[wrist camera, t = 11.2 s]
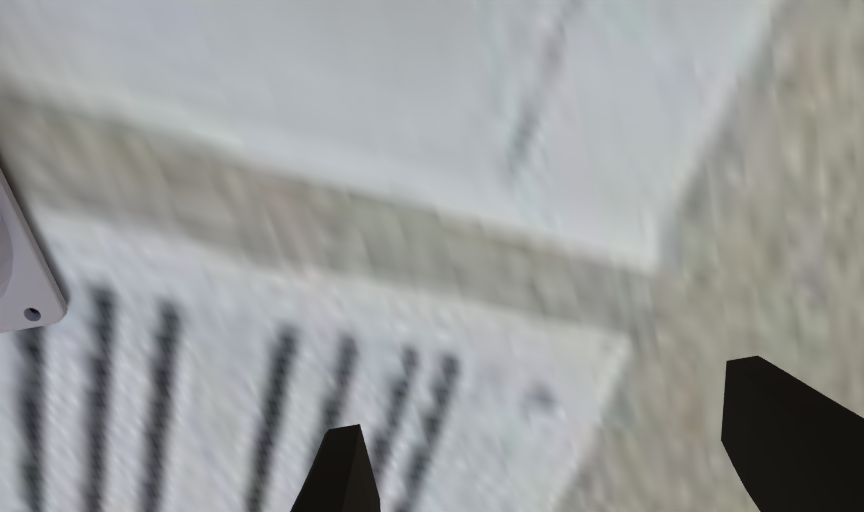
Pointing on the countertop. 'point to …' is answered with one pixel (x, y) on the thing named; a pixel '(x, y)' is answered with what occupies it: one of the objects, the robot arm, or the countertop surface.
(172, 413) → the countertop surface
